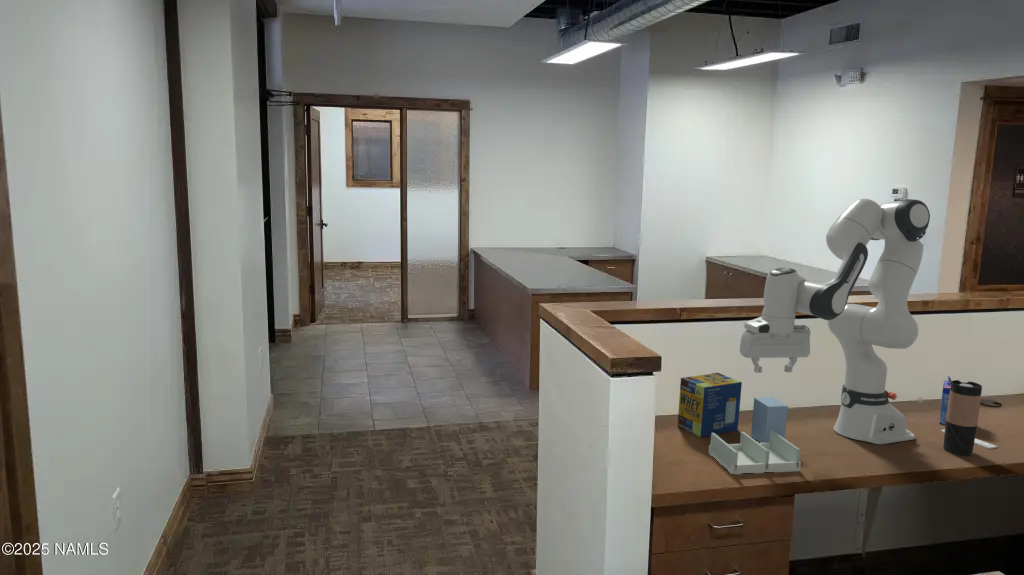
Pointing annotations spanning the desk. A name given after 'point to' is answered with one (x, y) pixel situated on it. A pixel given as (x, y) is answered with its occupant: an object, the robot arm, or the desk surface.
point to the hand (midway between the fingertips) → (772, 372)
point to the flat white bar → (982, 443)
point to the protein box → (709, 404)
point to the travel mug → (962, 417)
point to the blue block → (768, 418)
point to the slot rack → (756, 454)
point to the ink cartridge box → (945, 400)
